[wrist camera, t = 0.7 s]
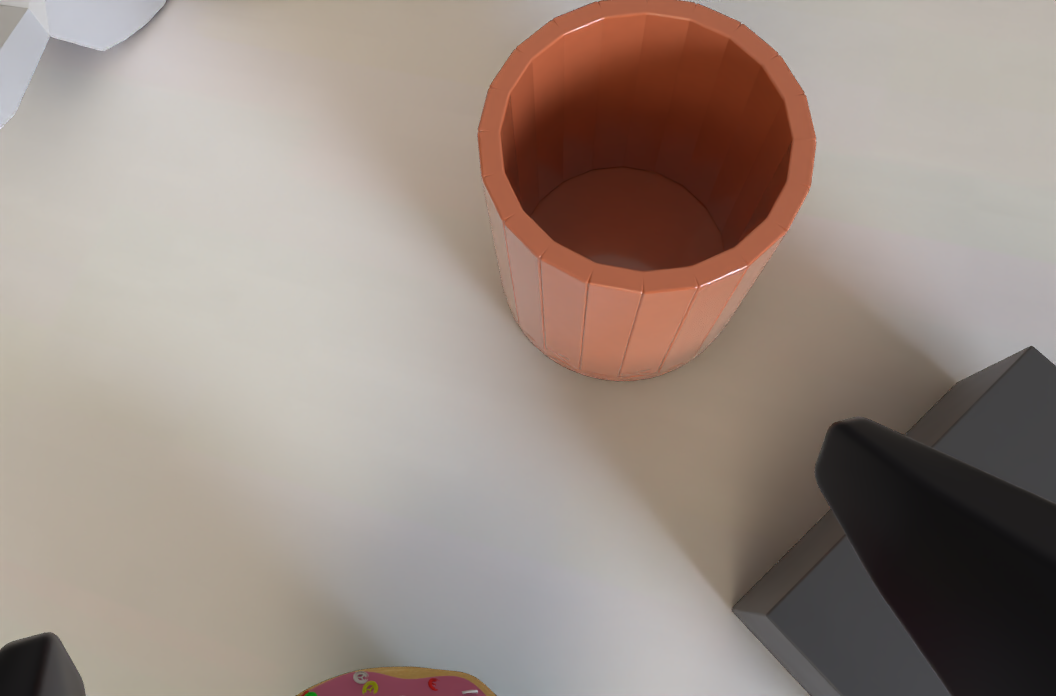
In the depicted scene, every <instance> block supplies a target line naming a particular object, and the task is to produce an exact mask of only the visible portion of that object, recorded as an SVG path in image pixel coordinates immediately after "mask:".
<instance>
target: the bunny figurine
mask: <svg viewBox="0 0 1056 696" xmlns="http://www.w3.org/2000/svg"><path fill="white" fill-rule="evenodd" d="M165 2H166V0H0V129H1V128H2V127H3V126H4V125H5V124H6V123H7V122H8V121H9V120H10V119H11V118H12V117H13V116H14V114H15V113H16V111H17V109H18V107H19V105H20V103H21V100H22V98H23V96H24V94H25V92H26V89H27V87H28V85H29V83H30V80H31V78H32V76H33V74H34V72H35V69H36V67H37V65H38V63H39V60H40V58H41V56H42V54H43V52H44V49H45V47H46V45H47V43H48V40H49V38H50V37H53V38H56V39H60V40H63V41H67V42H71V43H74V44H78V45H81V46H85V47H88V48H92V49H96V50H99V51H105V50H107V49H109V48H111V47H112V46H114V45H116V44H118V43H120V42H122V41H124V40H126V39H127V38H129V37H130V36H131V35H133V34H134V33H135V32H137V31H138V30H139V29H140V28H142V27H143V26H144V25H146V24H147V23H148V22H149V21H150V20H151V19H152V18H153V17H154V15H155V14H156V13H157V12H158V11H159V10H160V9H161V8H162V7H163V6H164V4H165Z"/></svg>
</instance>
